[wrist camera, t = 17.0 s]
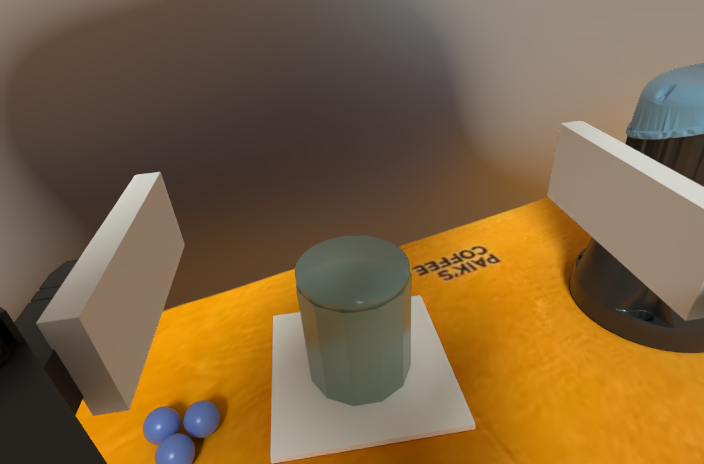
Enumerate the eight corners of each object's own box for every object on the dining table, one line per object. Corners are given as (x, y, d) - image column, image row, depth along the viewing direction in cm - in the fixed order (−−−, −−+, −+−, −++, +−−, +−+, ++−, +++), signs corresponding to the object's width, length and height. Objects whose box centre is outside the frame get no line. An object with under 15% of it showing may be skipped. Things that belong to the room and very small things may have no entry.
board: (420, 299, 48) (420, 294, 48) (475, 429, 35) (475, 424, 35) (274, 320, 47) (273, 315, 47) (271, 463, 34) (270, 459, 33)
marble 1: (187, 418, 37) (178, 396, 36) (181, 449, 35) (171, 427, 34) (153, 423, 37) (143, 402, 36) (145, 454, 35) (133, 433, 33)
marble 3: (225, 412, 38) (217, 390, 36) (221, 442, 35) (213, 420, 34) (191, 417, 38) (182, 396, 36) (185, 448, 35) (176, 426, 34)
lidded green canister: (396, 322, 45) (395, 229, 39) (420, 395, 37) (423, 293, 31) (308, 335, 44) (293, 242, 38) (313, 412, 36) (296, 311, 31)
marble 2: (201, 444, 35) (192, 422, 34) (196, 479, 33) (186, 457, 31) (165, 450, 35) (155, 428, 34) (157, 485, 33) (145, 463, 31)
